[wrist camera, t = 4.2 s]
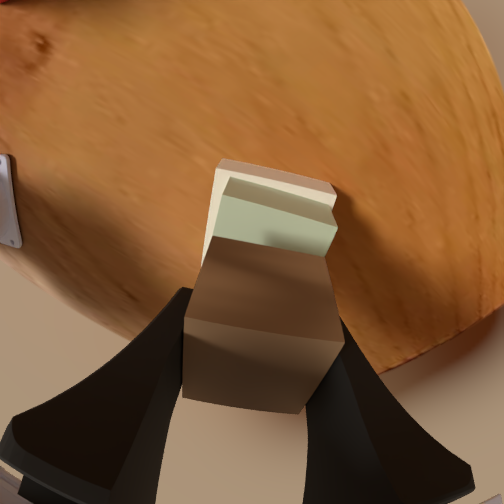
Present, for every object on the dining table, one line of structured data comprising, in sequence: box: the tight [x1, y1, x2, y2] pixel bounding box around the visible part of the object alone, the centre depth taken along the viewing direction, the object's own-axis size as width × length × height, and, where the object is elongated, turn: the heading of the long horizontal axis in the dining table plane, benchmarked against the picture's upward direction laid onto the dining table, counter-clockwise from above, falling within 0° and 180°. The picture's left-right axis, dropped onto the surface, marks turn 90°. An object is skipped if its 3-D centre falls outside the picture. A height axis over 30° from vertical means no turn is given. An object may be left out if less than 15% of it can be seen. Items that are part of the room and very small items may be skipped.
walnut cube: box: [182, 236, 345, 414], centre depth 10 cm, size 4×4×4 cm
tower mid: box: [212, 177, 338, 257], centre depth 14 cm, size 5×5×2 cm
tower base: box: [201, 158, 337, 266], centre depth 17 cm, size 6×6×2 cm
